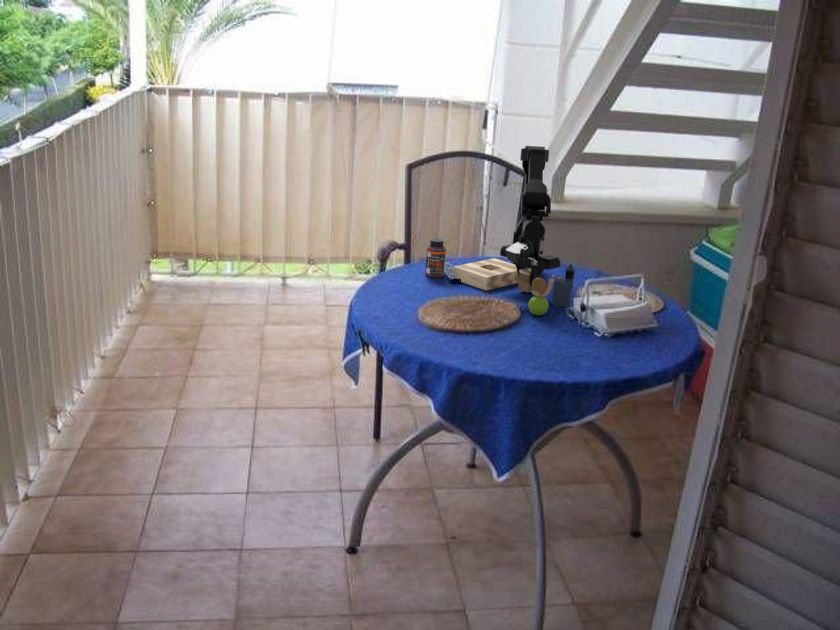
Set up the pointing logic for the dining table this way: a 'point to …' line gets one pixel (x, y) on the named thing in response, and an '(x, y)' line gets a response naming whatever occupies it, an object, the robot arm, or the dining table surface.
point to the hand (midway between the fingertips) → (527, 284)
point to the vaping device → (563, 288)
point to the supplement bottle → (435, 258)
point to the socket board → (487, 274)
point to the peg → (525, 280)
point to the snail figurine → (540, 296)
